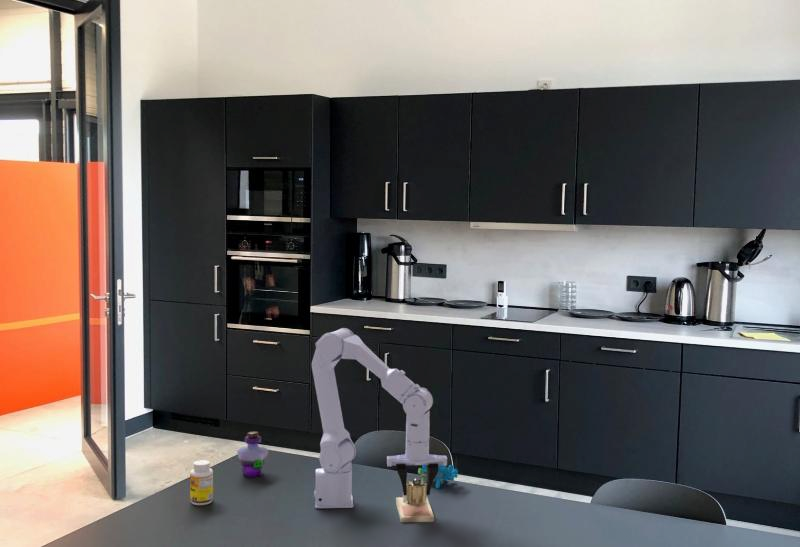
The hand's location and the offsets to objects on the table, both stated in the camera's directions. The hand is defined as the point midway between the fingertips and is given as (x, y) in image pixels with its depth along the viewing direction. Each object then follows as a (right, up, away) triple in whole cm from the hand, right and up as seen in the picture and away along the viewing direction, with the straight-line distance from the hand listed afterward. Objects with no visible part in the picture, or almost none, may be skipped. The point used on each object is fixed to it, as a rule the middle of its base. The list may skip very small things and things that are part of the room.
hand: (416, 493), depth 192 cm
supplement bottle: (-54, -4, +6) cm, 54 cm away
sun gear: (-1, -4, +7) cm, 8 cm away
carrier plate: (0, -5, +3) cm, 6 cm away
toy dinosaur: (+6, -4, +23) cm, 24 cm away
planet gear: (0, -2, 0) cm, 2 cm away
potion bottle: (-45, -2, +27) cm, 52 cm away
